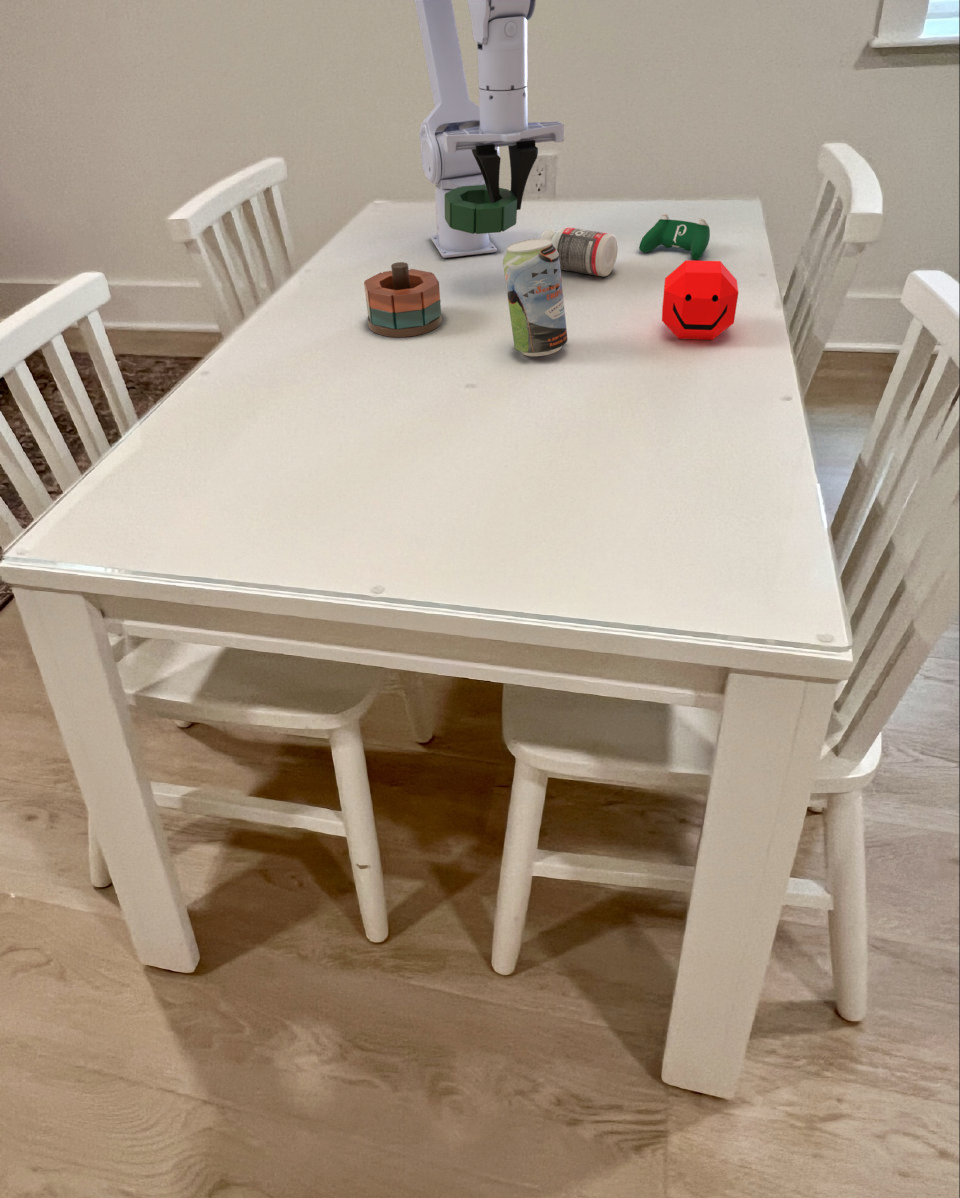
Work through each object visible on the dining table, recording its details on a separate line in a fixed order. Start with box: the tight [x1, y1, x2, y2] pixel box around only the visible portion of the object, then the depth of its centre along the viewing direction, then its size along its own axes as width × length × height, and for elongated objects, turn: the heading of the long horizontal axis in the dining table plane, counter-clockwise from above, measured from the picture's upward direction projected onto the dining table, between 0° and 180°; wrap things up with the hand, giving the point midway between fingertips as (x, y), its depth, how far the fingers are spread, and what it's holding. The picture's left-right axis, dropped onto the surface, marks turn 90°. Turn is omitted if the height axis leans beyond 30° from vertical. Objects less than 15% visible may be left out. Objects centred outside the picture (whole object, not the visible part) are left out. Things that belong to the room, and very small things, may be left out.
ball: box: [661, 259, 739, 341], centre depth 101 cm, size 8×8×8 cm
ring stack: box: [363, 261, 442, 338], centre depth 107 cm, size 9×9×7 cm
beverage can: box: [502, 238, 568, 357], centre depth 97 cm, size 6×7×12 cm
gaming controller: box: [638, 213, 711, 261], centre depth 124 cm, size 9×4×6 cm
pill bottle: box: [539, 226, 619, 277], centre depth 119 cm, size 5×5×10 cm
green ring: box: [445, 185, 518, 234], centre depth 112 cm, size 9×9×3 cm
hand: (505, 209), depth 112 cm, fingers closed on green ring, 2 cm apart
